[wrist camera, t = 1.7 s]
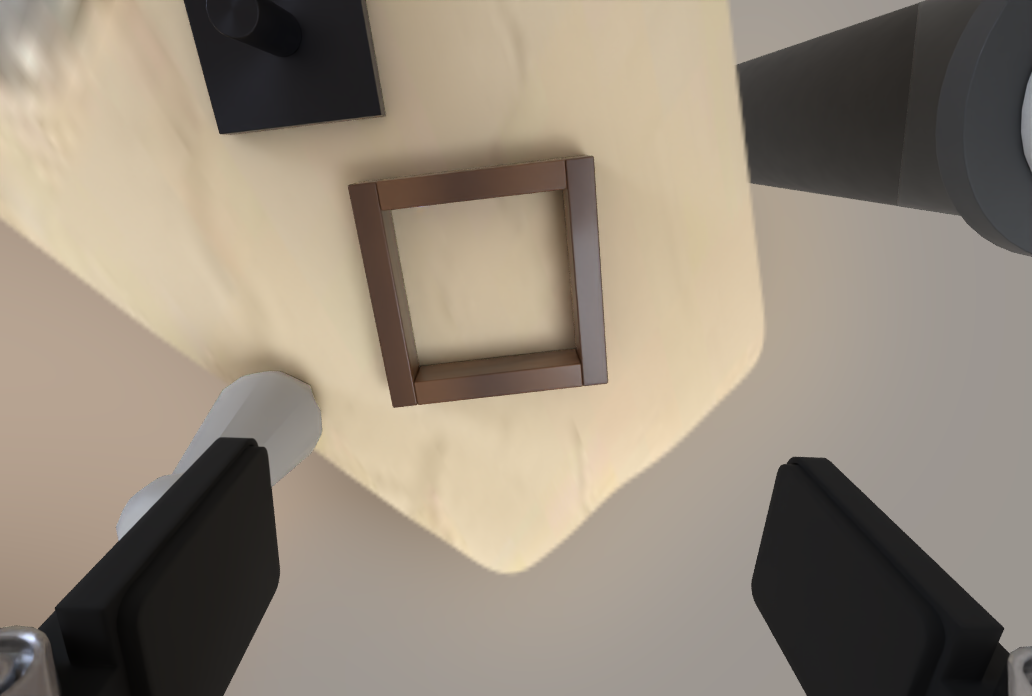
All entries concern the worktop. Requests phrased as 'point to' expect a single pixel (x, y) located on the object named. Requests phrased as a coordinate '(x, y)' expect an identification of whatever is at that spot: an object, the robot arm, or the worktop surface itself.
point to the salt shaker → (246, 432)
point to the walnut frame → (492, 373)
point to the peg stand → (286, 62)
